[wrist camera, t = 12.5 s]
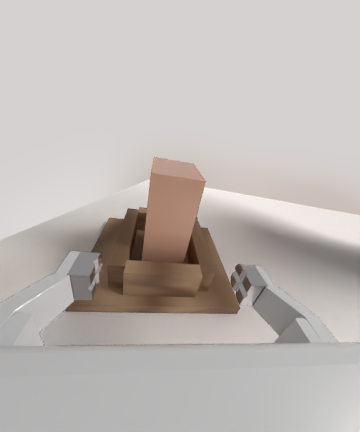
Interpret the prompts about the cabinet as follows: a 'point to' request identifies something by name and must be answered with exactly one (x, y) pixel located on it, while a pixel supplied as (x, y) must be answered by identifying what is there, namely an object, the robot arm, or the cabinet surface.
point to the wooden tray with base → (157, 274)
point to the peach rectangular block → (171, 210)
